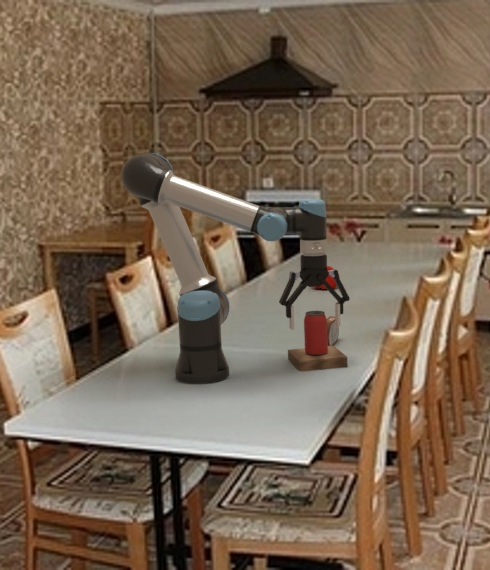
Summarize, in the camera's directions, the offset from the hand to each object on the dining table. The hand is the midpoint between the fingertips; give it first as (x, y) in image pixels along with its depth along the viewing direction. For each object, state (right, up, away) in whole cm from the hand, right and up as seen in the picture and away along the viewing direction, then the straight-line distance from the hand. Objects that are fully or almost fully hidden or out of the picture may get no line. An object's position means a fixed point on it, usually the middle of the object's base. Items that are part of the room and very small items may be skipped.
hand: (315, 327), depth 275 cm
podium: (+1, -10, +2) cm, 11 cm away
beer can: (0, -8, +1) cm, 8 cm away
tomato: (+13, +10, +119) cm, 120 cm away
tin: (+7, -7, +24) cm, 26 cm away
